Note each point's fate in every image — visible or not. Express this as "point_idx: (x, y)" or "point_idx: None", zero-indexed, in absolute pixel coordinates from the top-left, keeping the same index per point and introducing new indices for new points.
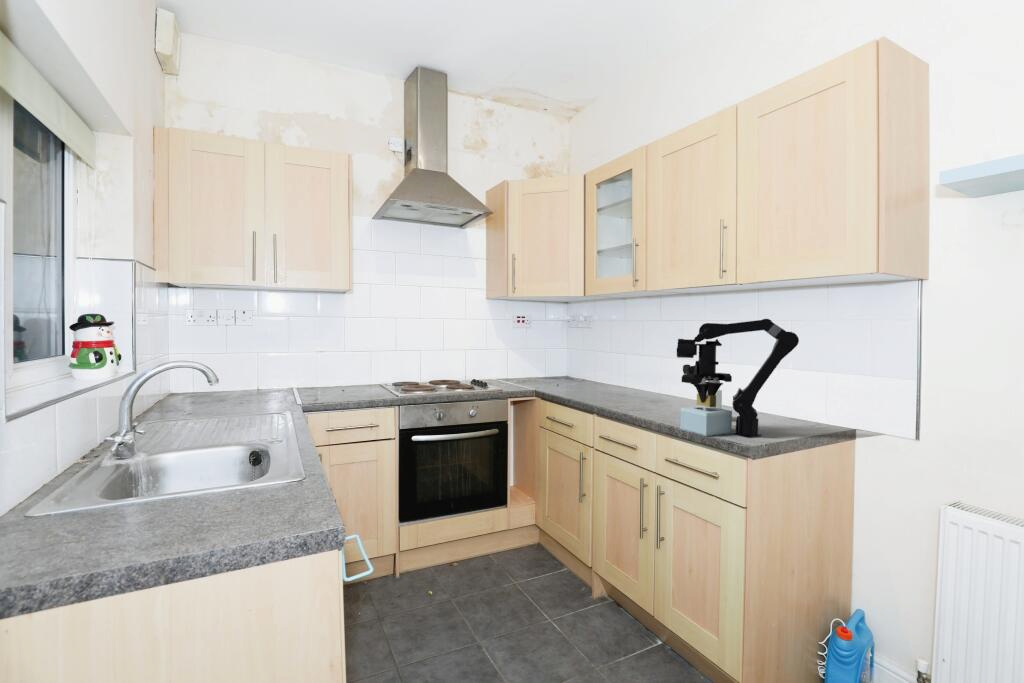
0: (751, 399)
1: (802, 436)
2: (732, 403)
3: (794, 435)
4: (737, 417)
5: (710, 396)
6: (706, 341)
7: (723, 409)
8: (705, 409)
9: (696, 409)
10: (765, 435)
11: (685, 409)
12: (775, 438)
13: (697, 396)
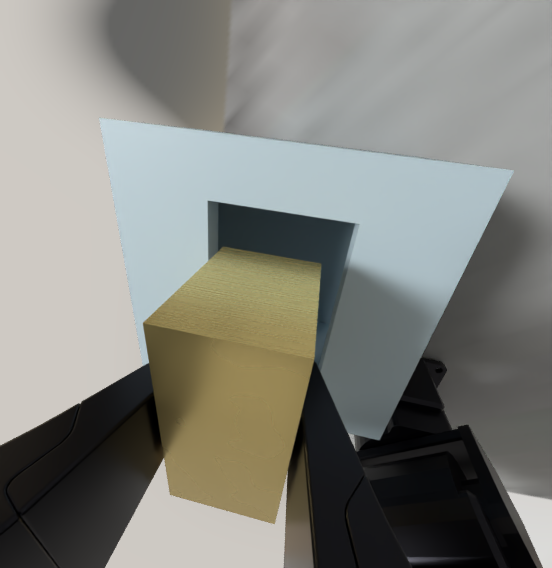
0: None
1: (546, 490)
2: (452, 489)
3: (547, 474)
4: (389, 422)
5: (182, 488)
6: None
7: (395, 390)
8: (348, 256)
9: (183, 275)
10: (450, 419)
11: (117, 192)
12: None
13: (174, 307)
